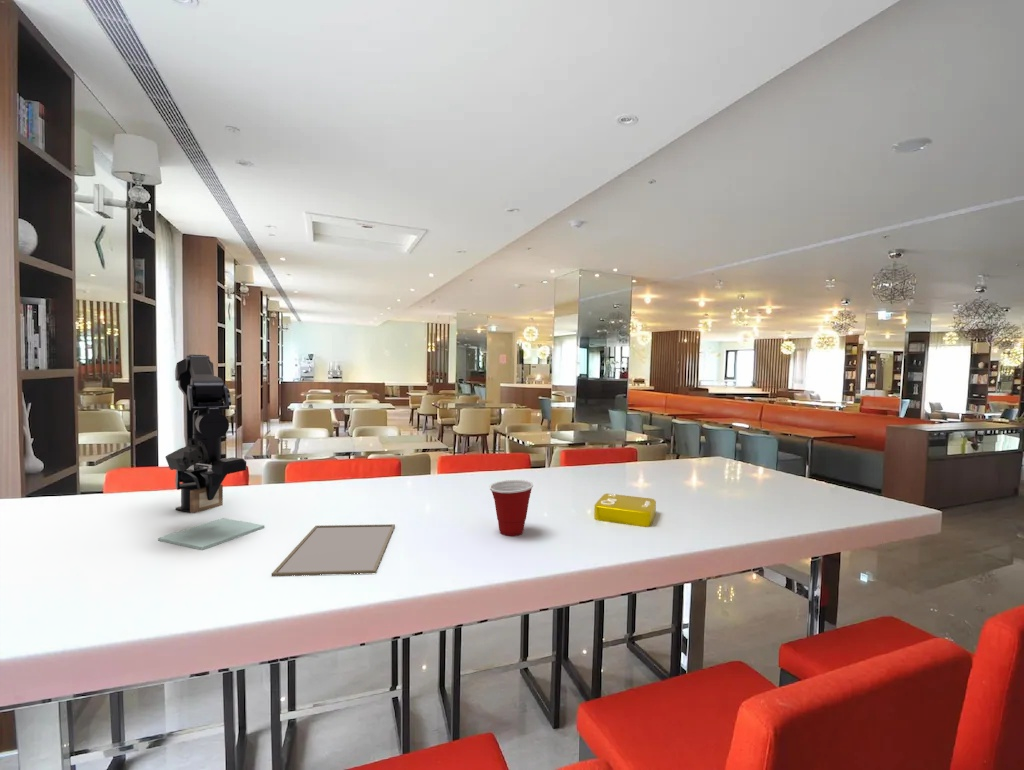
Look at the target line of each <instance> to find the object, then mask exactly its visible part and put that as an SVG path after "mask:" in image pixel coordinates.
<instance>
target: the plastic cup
mask: <svg viewBox="0 0 1024 770" xmlns="http://www.w3.org/2000/svg"><path fill="white" fill-rule="evenodd" d="M533 487H534V483H533V482H531V481H529V480H522V479H510V480H509V479H508V480H507V479H505V480H501V481H497V482H494V483H491V484H490V485H489V490H490V491H491V493H492V496H493V500H494V506H495V511H496V512H495V513H496V519H497V522H498V523H497V524H498V531H499V533H500V534H501V535H503V536H508V537H517V536H520V535H522V534H523V533H524V529H525V523H526V520H527V514H528V509H529V503H530V498H531V493H532V489H533Z"/></svg>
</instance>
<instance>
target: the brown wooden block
mask: <svg viewBox="0 0 1024 770" xmlns="http://www.w3.org/2000/svg"><path fill="white" fill-rule="evenodd" d="M223 486H224V485H223V484H221V485H220V487H219V489H218V491H217V493H216V494H215V496H214V498H213V499H212V500H208V499H207V492H206V487H204V488H199V489H195V490H191V491H190V512H189V513H192V514H196V513H200V512H203V511H207V510H210V509H214V508H217V507H221V506H223V504H224V502H223V501H224V500H223V499H224V495H223V494H224V493H223V488H224V487H223Z"/></svg>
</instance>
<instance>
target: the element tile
mask: <svg viewBox="0 0 1024 770" xmlns="http://www.w3.org/2000/svg"><path fill="white" fill-rule="evenodd" d="M656 509H657V501H656V500H655V499H654V498H649V497H643V496H642V497H641V496H634V495H633V496H632V495H625V494H616V493H604V494H603V495H602V496H601V497H600V498H599V499H598V500H597V501H596V503H594V508H593V510H594V511H593V514H594V516H593V519H594V520H595V521H598V522H604V523H605V522H606V523H613V524H620V525H628V526H633V527H643V528H649V527H651V526H652V525H653V522H654V520H655V517H656V515H657V512H656Z"/></svg>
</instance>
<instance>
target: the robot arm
mask: <svg viewBox="0 0 1024 770" xmlns="http://www.w3.org/2000/svg"><path fill="white" fill-rule="evenodd" d="M214 369H215V368H214V363H213V361H211V359H210V356H209V355H207V354H187V355H186V357H185V358H184V359H181V360H180V361H178V362H176V365H175V371H174V378H175V379H174V380H175V382H177V383H178V385H177V386H178V388H179V390H180V391H181V393H182V394H183V395H184V398H185V399H184V400H185V402H184V403H185V404H184V405H185V407H184V408H185V446H184V447H181V448H179V449H176V450H175V451H173V452H170V453H168V454H167V455H166V456H165V460H166V462H167V465H168V468H169V470H172V471H174V470H175V471H176V472H175V478H174V479H175V481H174V482H175V489H176V490H177V491H180V490H181V491H180V503H181V504H180V506H178V507H175V510H176V511H181V512H187V513H191V512H190V491H191V490H195V489H199V488H204V487H206V492H207V499H208V500H212V499H213V498H214V496H215V494H216V493H217V491H218V489H219V487H220V485H222V484H223V481H224V480H225V478H226V477H227V475H230V474H235V473H239V472H245V471H247V460H245V459H244V458H242V457H241V458H240V457H234V456H232V457H227V454H226V453H222V451H223V450H222V449H223V448H222V447H223V445H222V444H223V442H226V441H227V437H226V436H225V435H226V434H227V433H228V431H229V429H230V422H229V419H228V418H227V417H226V415H224V414H223V410H230V406H231V405H232V398H231V392H230V389H229V388H228V385H227V384H225V383H224V380H223V379H222V378H221V377H219V376H215V373H214V372H215V370H214ZM231 407H232V406H231Z"/></svg>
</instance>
